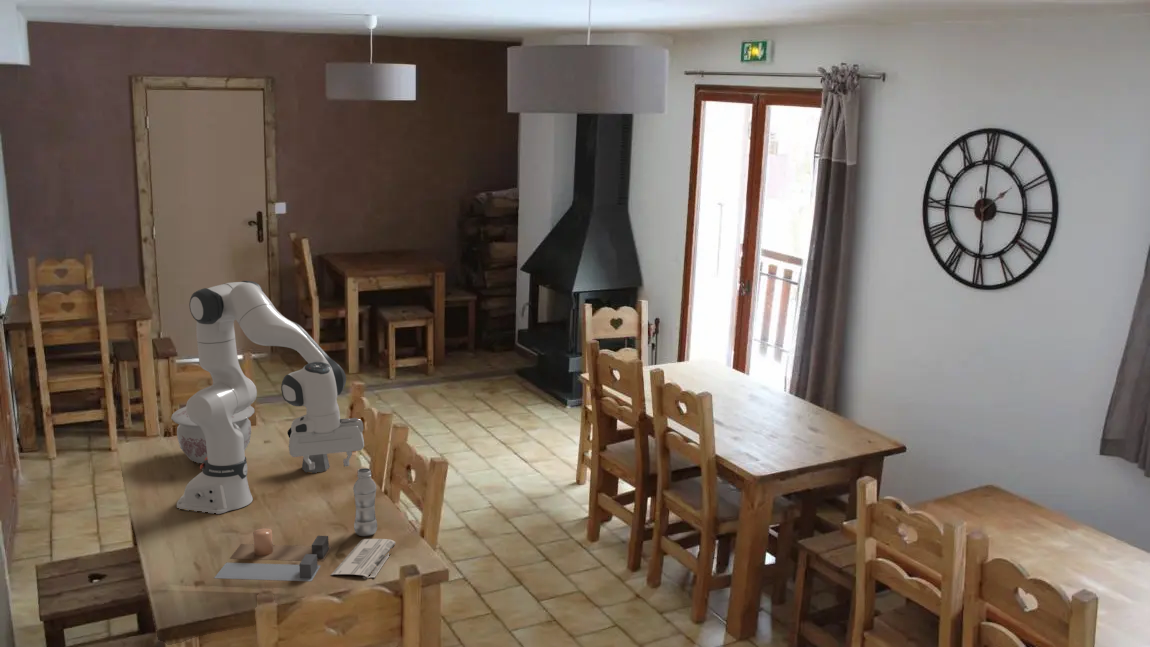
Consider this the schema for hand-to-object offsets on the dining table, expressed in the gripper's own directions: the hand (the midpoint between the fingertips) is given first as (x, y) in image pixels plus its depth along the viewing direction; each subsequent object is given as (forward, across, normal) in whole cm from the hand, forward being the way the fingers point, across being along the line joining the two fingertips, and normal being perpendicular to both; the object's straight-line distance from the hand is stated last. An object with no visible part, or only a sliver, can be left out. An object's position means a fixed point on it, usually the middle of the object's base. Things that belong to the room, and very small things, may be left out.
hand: (329, 467), depth 285 cm
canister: (+22, +20, +3) cm, 30 cm away
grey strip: (+23, +17, +15) cm, 33 cm away
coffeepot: (+25, +13, -63) cm, 69 cm away
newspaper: (+26, -8, +8) cm, 29 cm away
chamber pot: (+23, +47, -76) cm, 93 cm away
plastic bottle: (+26, -7, -8) cm, 28 cm away
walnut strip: (+24, +15, +4) cm, 28 cm away
